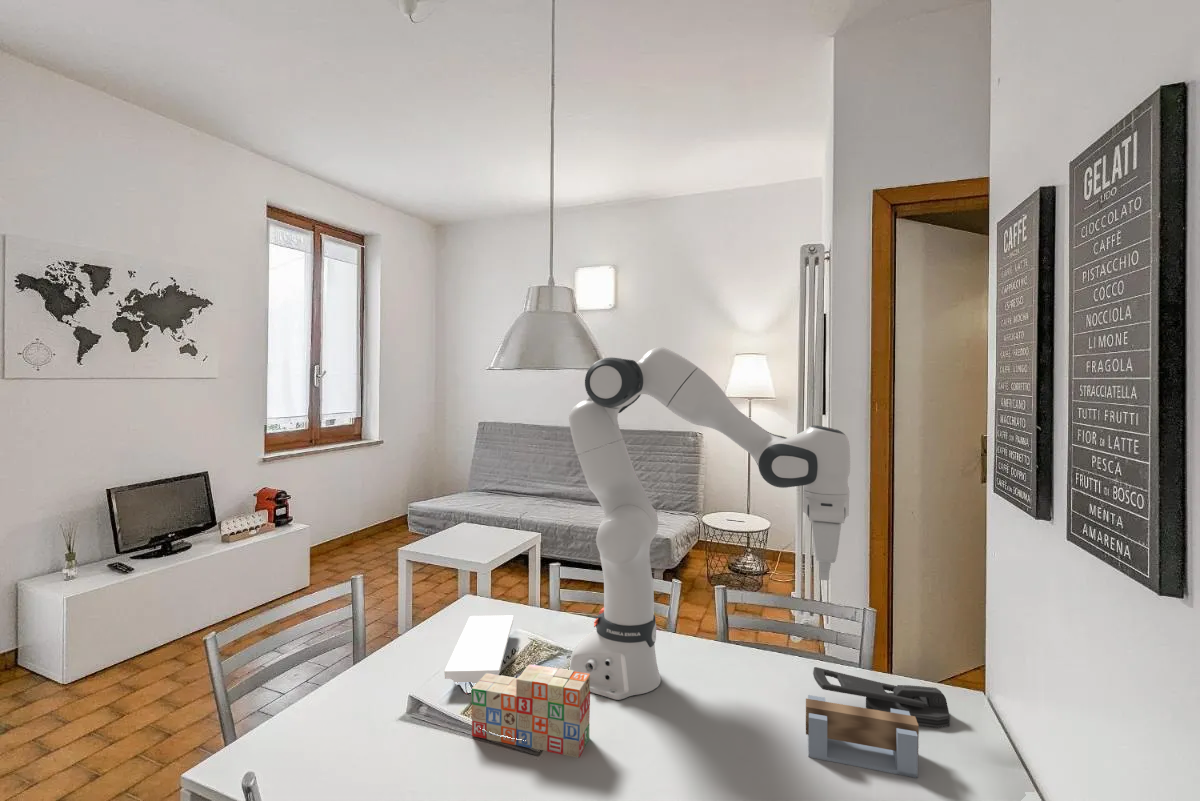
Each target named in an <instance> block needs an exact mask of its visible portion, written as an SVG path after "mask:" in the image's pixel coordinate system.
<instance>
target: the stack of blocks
mask: <svg viewBox="0 0 1200 801" xmlns="http://www.w3.org/2000/svg"><path fill="white" fill-rule="evenodd" d="M470 695H471V701H470V702H471V736H472V737H475V738H481V739H486V740H488V741H494V742H499V743H504V744H507V745H514V746H516V745H517V746H519V747H525V748H529V749H535V750H541V751H545V752H550V753H554V754H557V755H564V756H568V757H572V758H580V757H581V755H582V753H583V751H584V749H585V747H586V745H587V743H588V741H589V739H590V712H591V711H590V709H591V692H590V674H588V673H581V672H574V670H568V669H562V668H560V667H559V668H558V667H552V666H542V665H537V664H528V665H527V666H526V667H525V668H524V670H523V671H522V672H521V674H520V675H519V676H518V677H513V676H506V675H502V674H501V675H500V674H499V675H495V674H489V673H486V674H485V675H484V676H483V677H482V678H481V679H480V680H479V682H477V683H476V684H475V686H473V687H472V690H471V694H470ZM480 728H481V729H480ZM482 729H485V730H486V731H487V732H489V731H490V732H492V733H495V734H498V735H504V736H508V737H511V738H515V739H511V738H507V737H506V738H505V737H500V736H494V735H489V734H488V733H487V734H486V732H485V733H483V732H482ZM516 738H517V739H522V740H516ZM523 740H524V741H523ZM525 740H526V741H525Z"/></svg>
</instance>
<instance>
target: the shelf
mask: <svg viewBox="0 0 1200 801" xmlns="http://www.w3.org/2000/svg"><path fill="white" fill-rule="evenodd" d="M514 617H515V616H514V615H510V614H509V615H506V614H505V615H470V616H469V617H468V619H467V622H466V624H465V626H464V627H463V630H462V633H461V635H460V636H459V639H458V641H457V643H456V645H455V647H454V649H453V652H452V654H451V656H450V658H449V660H448V662H447V664H446V666H445V669H444V679H447V680H448V679H449V680H452V681H453V683H454V682H457V683H458V682H472V683H477V682H479V680H480V679H481V678H482V677H483V676H484V675H485V674H486V673H489V674H495V675H500V673H501V668H502V664H503V661H504V656H505V653H506V649H507V646H508V642H509V639H510V635H511V630H512V627H513V625H514V624H513V623H514Z"/></svg>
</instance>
